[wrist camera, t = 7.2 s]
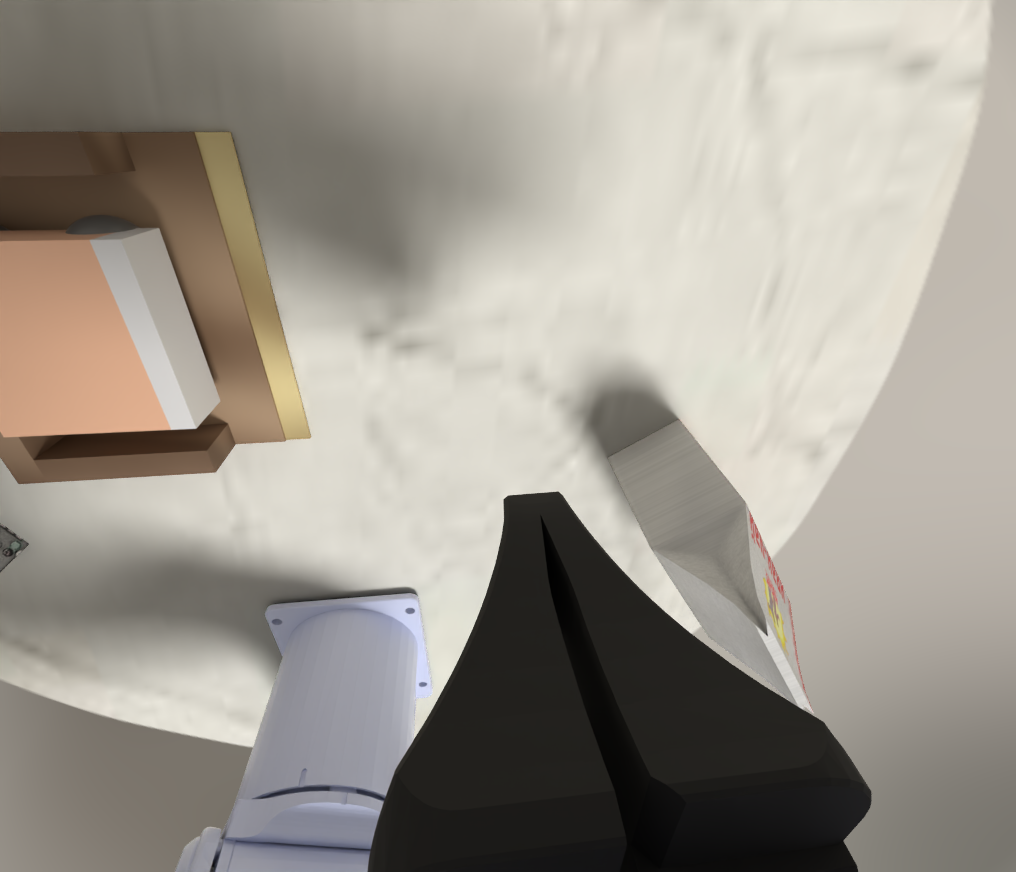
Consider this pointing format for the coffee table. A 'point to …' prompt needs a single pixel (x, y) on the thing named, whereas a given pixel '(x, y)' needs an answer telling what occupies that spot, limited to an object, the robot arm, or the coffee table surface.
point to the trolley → (96, 334)
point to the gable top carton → (712, 552)
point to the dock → (201, 276)
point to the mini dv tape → (9, 546)
